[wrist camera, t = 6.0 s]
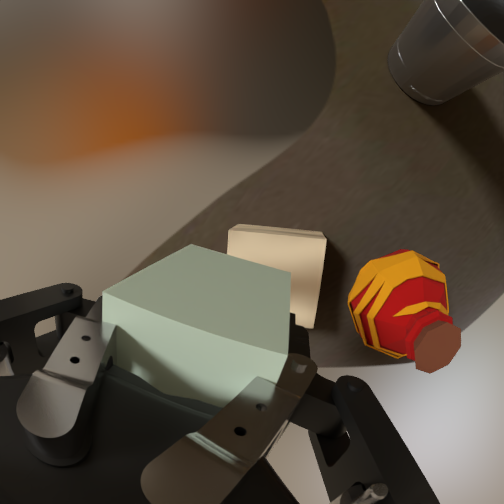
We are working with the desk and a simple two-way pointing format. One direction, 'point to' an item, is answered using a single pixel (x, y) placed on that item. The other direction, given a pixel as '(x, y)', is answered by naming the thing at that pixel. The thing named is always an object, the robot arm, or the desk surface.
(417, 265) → the potion bottle
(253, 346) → the green block
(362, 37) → the desk surface
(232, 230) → the beech base
